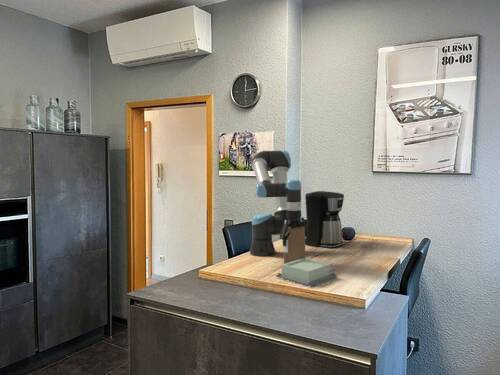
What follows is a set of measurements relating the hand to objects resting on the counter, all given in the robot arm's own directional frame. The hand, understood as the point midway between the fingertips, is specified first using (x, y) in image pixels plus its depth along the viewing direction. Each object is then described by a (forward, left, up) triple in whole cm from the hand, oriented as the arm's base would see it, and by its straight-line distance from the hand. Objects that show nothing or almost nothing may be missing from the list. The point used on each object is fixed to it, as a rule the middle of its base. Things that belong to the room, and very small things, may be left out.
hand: (294, 249), depth 206 cm
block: (0, 0, -8) cm, 8 cm away
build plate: (+18, -13, -8) cm, 23 cm away
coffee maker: (-20, +51, -8) cm, 56 cm away
